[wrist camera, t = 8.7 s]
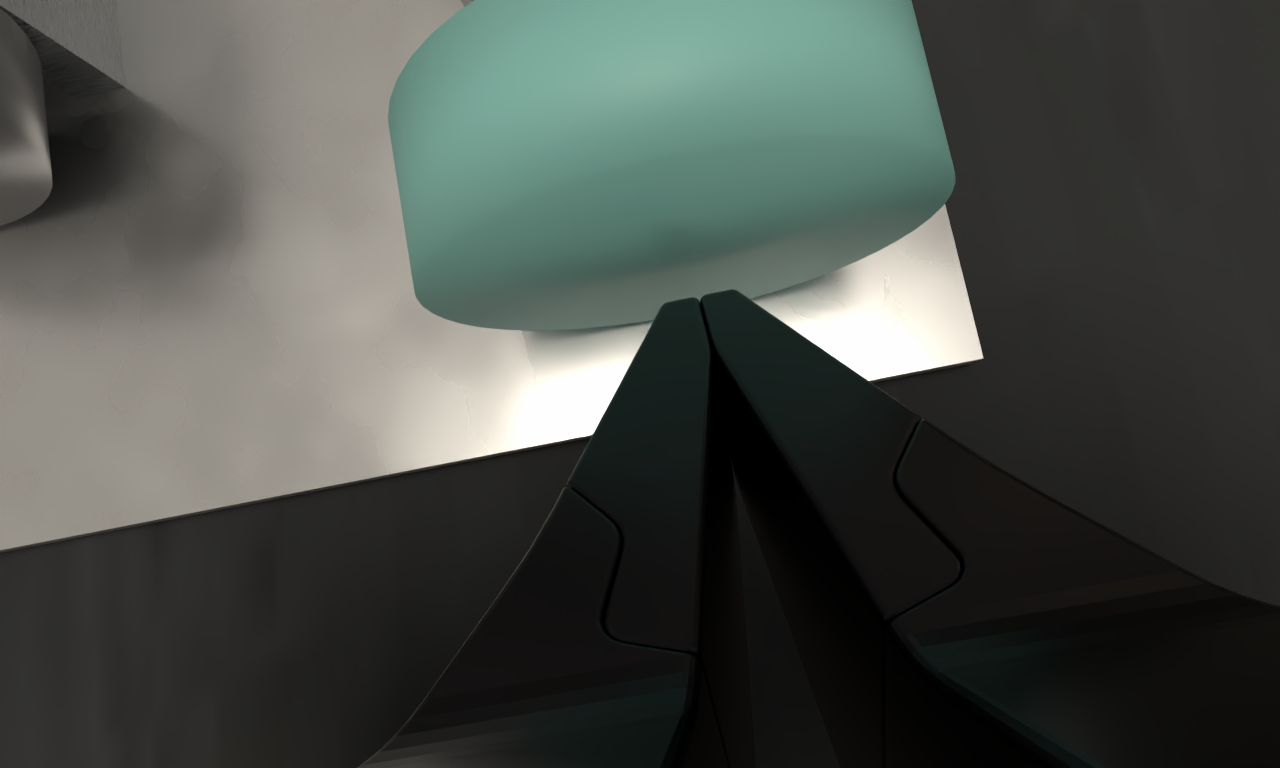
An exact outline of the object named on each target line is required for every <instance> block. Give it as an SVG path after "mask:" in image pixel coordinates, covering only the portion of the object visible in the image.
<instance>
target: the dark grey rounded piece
mask: <svg viewBox="0 0 1280 768" xmlns="http://www.w3.org/2000/svg"><path fill="white" fill-rule="evenodd" d="M52 186H53V185H52V172H51V161H50V150H49V140H48V129H47V118H46V108H45V97H44V86H43V76H42V65H41V62H40V59H39V56H38V54H37V51H36V49H35V47H34V46H33V44H32V43H31V41H30V40H29V38H28V36H27V35H26V34H25V32H24V31H23V30H22V29H21V28H20V27H19V26H18V25H17V23H16V22H15V21H14V20H13V19H12V18H11V17H10V16H9V15H8V14H7V13H5V12H4V11H3V10H2V9H1V8H0V226H2V225H5V224H7V223H10V222H13V221H16V220H18V219H20V218H22V217H24V216H26V215H28V214H30V213H32V212H33V211H34V210H36V209H37V208H38V207H40V206H41V205H42V204H43V203H44V202H45V200H46V199H47V198H48V197H49V195H50V192H51V189H52Z"/></svg>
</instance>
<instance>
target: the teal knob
mask: <svg viewBox="0 0 1280 768" xmlns="http://www.w3.org/2000/svg"><path fill="white" fill-rule="evenodd" d="M388 125H389V131H390V138H391V144H392V151H393V157H394V164H395V170H396V176H397V183H398V189H399V196H400V202H401V209H402V215H403V222H404V228H405V235H406V241H407V248H408V254H409V261H410V267H411V274H412V280H413V287H414V292H415V297H416V298H417V300H418V301H419V302H420V304H421V305H422V306H423V307H424V308H426V309H427V310H429V311H430V312H431V313H433V314H435V315H437V316H440V317H442V318H444V319H447V320H450V321H454V322H457V323H460V324H465V325H470V326H476V327H482V328H491V329H501V330H520V331H547V330H571V329H585V328H596V327H606V326H615V325H622V324H630V323H637V322H644V321H650V320H654V319H655V317H656V315H657V314H658V312H659V310H660V308H661V306H662V305H663V304H664V303H666V302H671V301H676V300H681V299H686V298H691V297H694V298H697V299H698V300H699V302H700V299H701V297H702V296H703V295H705V294H710V293H715V292H720V291H725V290H730V289H734V290H737V291H739V292H740V293H741V294H743V295H744V296H746V297H747V298H749V299H751V298H754V297H758V296H762V295H765V294H768V293H772V292H775V291H778V290H781V289H785V288H788V287H791V286H794V285H797V284H800V283H803V282H806V281H808V280H811V279H814V278H817V277H819V276H822V275H825V274H827V273H830V272H833V271H835V270H838V269H840V268H842V267H845V266H847V265H849V264H852V263H854V262H856V261H859V260H861V259H863V258H865V257H867V256H869V255H871V254H873V253H875V252H878V251H879V250H881V249H883V248H885V247H887V246H889V245H891V244H892V243H894V242H896V241H898V240H899V239H901V238H903V237H904V236H906V235H907V234H909V233H911V232H912V231H914V230H915V229H917V228H918V227H919V226H921V225H922V224H923V223H925V222H926V221H927V220H929V219H930V218H931V217H932V216H933V215H934V214H935V213H936V212H937V211H938V210H939V209H940V208H941V207H942V206H943V205H944V204H945V202H946V201H947V200H948V198H949V197H950V195H951V194H952V191H953V188H954V185H955V171H954V167H953V163H952V159H951V155H950V151H949V147H948V143H947V139H946V135H945V131H944V127H943V123H942V119H941V115H940V112H939V108H938V104H937V100H936V96H935V92H934V88H933V84H932V80H931V76H930V72H929V68H928V64H927V60H926V56H925V52H924V48H923V44H922V40H921V36H920V32H919V28H918V24H917V20H916V16H915V12H914V9H913V5H912V1H911V0H474V1H473V2H471V3H470V4H468V5H467V6H465V7H464V8H462V9H461V10H459V11H458V12H457V13H455V14H454V15H453V16H452V17H451V18H449V19H448V20H447V21H446V22H445V23H443V24H442V25H441V26H440V27H439V28H437V29H436V30H435V31H434V32H433V33H432V34H431V35H430V36H429V37H428V38H427V39H426V40H425V41H424V42H423V44H422V45H421V46H420V47H419V48H418V49H417V50H416V51H415V53H414V54H413V55H412V56H411V57H410V59H409V60H408V62H407V64H406V65H405V67H404V69H403V70H402V72H401V73H400V75H399V77H398V78H397V81H396V83H395V86H394V89H393V92H392V95H391V97H390V101H389V111H388Z"/></svg>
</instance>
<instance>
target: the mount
mask: <svg viewBox="0 0 1280 768" xmlns="http://www.w3.org/2000/svg"><path fill="white" fill-rule="evenodd" d="M473 1H474V0H0V8H1V9H2V10H3V11H4V12H5V13H7V14H8V15H9V16H10V17H11V18H12V19H13V20H14V21H15V22H16V23H17V25H18V26H19V27H20V28H21V29H22V30H23V31H24V32H25V34H26V35H27V36H28V38H29V40H30V41H31V43H32V44H33V46H34V47H35V49H36V51H37V54H38V56H39V59H40V62H41V65H42V76H43V86H44V97H45V108H46V118H47V129H48V140H49V150H50V161H51V172H52V185H53V186H52V189H51V192H50V195H49V197H48V198H47V199H46V200H45V202H44V203H43V204H42V205H41V206H40V207H38V208H37V209H36V210H34V211H33V212H32V213H30V214H28V215H26V216H24V217H22V218H20V219H18V220H16V221H13V222H10V223H7V224H5V225H2V226H0V553H2V552H8V551H13V550H18V549H23V548H28V547H33V546H38V545H43V544H49V543H54V542H59V541H64V540H69V539H74V538H79V537H85V536H90V535H95V534H100V533H105V532H110V531H115V530H120V529H126V528H131V527H136V526H141V525H146V524H151V523H156V522H162V521H167V520H172V519H177V518H182V517H187V516H192V515H197V514H203V513H208V512H213V511H218V510H223V509H228V508H233V507H238V506H244V505H249V504H254V503H259V502H264V501H269V500H274V499H280V498H285V497H290V496H295V495H300V494H305V493H310V492H315V491H321V490H326V489H331V488H336V487H341V486H346V485H351V484H356V483H362V482H367V481H372V480H377V479H382V478H387V477H392V476H398V475H403V474H408V473H413V472H418V471H423V470H428V469H433V468H439V467H444V466H449V465H454V464H459V463H464V462H469V461H474V460H480V459H485V458H490V457H495V456H500V455H505V454H510V453H516V452H521V451H526V450H531V449H536V448H541V447H546V446H551V445H557V444H562V443H567V442H572V441H577V440H582V439H587V438H591V436H592V435H593V433H594V431H595V429H596V427H597V425H598V423H599V422H600V420H601V418H602V416H603V414H604V412H605V410H606V409H607V407H608V405H609V403H610V401H611V399H612V397H613V396H614V394H615V392H616V390H617V388H618V386H619V384H620V382H621V381H622V379H623V377H624V375H625V373H626V371H627V369H628V368H629V366H630V364H631V362H632V360H633V358H634V356H635V355H636V353H637V351H638V349H639V347H640V345H641V343H642V342H643V340H644V338H645V336H646V334H647V332H648V330H649V328H650V327H651V325H652V323H653V321H654V320H650V321H644V322H637V323H630V324H622V325H615V326H606V327H596V328H585V329H571V330H547V331H520V330H501V329H491V328H482V327H476V326H470V325H465V324H460V323H457V322H454V321H450V320H447V319H444V318H442V317H440V316H437V315H435V314H433V313H431V312H430V311H429V310H427V309H426V308H424V307H423V306H422V305H421V304H420V302H419V301H418V300H417V298H416V297H415V292H414V287H413V280H412V274H411V267H410V261H409V254H408V248H407V241H406V235H405V228H404V222H403V215H402V209H401V202H400V196H399V189H398V183H397V176H396V170H395V164H394V157H393V151H392V144H391V138H390V131H389V125H388V111H389V101H390V97H391V95H392V92H393V89H394V86H395V83H396V81H397V78H398V77H399V75H400V73H401V72H402V70H403V69H404V67H405V65H406V64H407V62H408V60H409V59H410V57H411V56H412V55H413V54H414V53H415V51H416V50H417V49H418V48H419V47H420V46H421V45H422V44H423V42H424V41H425V40H426V39H427V38H428V37H429V36H430V35H431V34H432V33H433V32H434V31H435V30H436V29H437V28H439V27H440V26H441V25H442V24H443V23H445V22H446V21H447V20H448V19H449V18H451V17H452V16H453V15H454V14H455V13H457V12H458V11H459V10H461V9H462V8H464V7H465V6H467V5H468V4H470V3H471V2H473ZM750 300H752V301H753V302H755V303H756V304H757V305H759V306H760V307H762V308H763V309H765V310H766V311H768V312H769V313H771V314H772V315H773V316H775V317H776V318H778V319H779V320H781V321H782V322H784V323H785V324H787V325H788V326H790V327H791V328H792V329H794V330H795V331H797V332H798V333H800V334H801V335H803V336H804V337H806V338H807V339H808V340H810V341H811V342H813V343H814V344H816V345H817V346H819V347H820V348H822V349H823V350H824V351H826V352H827V353H829V354H830V355H832V356H833V357H835V358H836V359H838V360H839V361H840V362H842V363H843V364H845V365H846V366H848V367H849V368H851V369H852V370H854V371H855V372H857V373H858V374H859V375H861V376H862V377H864V378H865V379H867V380H868V381H870V382H871V383H875V382H880V381H885V380H890V379H895V378H900V377H905V376H911V375H916V374H921V373H926V372H931V371H936V370H941V369H947V368H952V367H957V366H962V365H967V364H971V363H973V362H976V361H978V360H981V359H983V355H982V351H981V347H980V343H979V339H978V335H977V330H976V326H975V322H974V318H973V314H972V310H971V306H970V302H969V298H968V294H967V290H966V286H965V282H964V278H963V274H962V270H961V266H960V262H959V258H958V254H957V250H956V246H955V242H954V238H953V234H952V230H951V226H950V222H949V218H948V214H947V210H946V206H945V204H944V205H943V206H942V207H941V208H940V209H939V210H938V211H937V212H936V213H935V214H934V215H933V216H932V217H931V218H930V219H929V220H927V221H926V222H925V223H923V224H922V225H921V226H919V227H918V228H917V229H915V230H914V231H912V232H911V233H909V234H907V235H906V236H904V237H903V238H901V239H899V240H898V241H896V242H894V243H892V244H891V245H889V246H887V247H885V248H883V249H881V250H879V251H878V252H875V253H873V254H871V255H869V256H867V257H865V258H863V259H861V260H859V261H856V262H854V263H852V264H849V265H847V266H845V267H842V268H840V269H838V270H835V271H833V272H830V273H827V274H825V275H822V276H819V277H817V278H814V279H811V280H808V281H806V282H803V283H800V284H797V285H794V286H791V287H788V288H785V289H781V290H778V291H775V292H772V293H768V294H765V295H762V296H758V297H754V298H751V299H750Z"/></svg>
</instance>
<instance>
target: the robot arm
mask: <svg viewBox="0 0 1280 768" xmlns="http://www.w3.org/2000/svg"><path fill="white" fill-rule="evenodd" d="M730 457H731V458H730ZM731 461H732V464H731ZM732 465H733V469H734V473H735V477H736V480H737V483H738V486H739V490H740V493H741V496H742V498H743V501H744V504H745V507H746V509H747V512H748V515H749V518H750V520H751V523H752V526H753V528H754V531H755V534H756V537H757V539H758V542H759V545H760V548H761V550H762V553H763V556H764V559H765V561H766V564H767V567H768V570H769V572H770V575H771V578H772V580H773V583H774V586H775V589H776V591H777V594H778V597H779V600H780V602H781V605H782V608H783V611H784V613H785V616H786V619H787V621H788V624H789V627H790V630H791V632H792V635H793V638H794V641H795V643H796V646H797V649H798V652H799V654H800V657H801V660H802V663H803V665H804V668H805V671H806V673H807V676H808V679H809V682H810V684H811V687H812V690H813V693H814V695H815V698H816V701H817V704H818V706H819V709H820V712H821V715H822V717H823V720H824V723H825V725H826V728H827V731H828V734H829V736H830V739H831V742H832V745H833V747H834V750H835V753H836V756H837V758H838V761H839V764H840V766H841V768H1280V606H1277V605H1272V604H1268V603H1265V602H1262V601H1259V600H1256V599H1253V598H1250V597H1247V596H1243V595H1241V594H1238V593H1236V592H1233V591H1231V590H1228V589H1226V588H1223V587H1221V586H1219V585H1216V584H1214V583H1211V582H1209V581H1207V580H1205V579H1203V578H1201V577H1199V576H1197V575H1195V574H1193V573H1191V572H1189V571H1187V570H1185V569H1183V568H1182V567H1180V566H1178V565H1176V564H1174V563H1172V562H1170V561H1169V560H1167V559H1165V558H1163V557H1161V556H1159V555H1157V554H1156V553H1154V552H1152V551H1150V550H1148V549H1146V548H1144V547H1143V546H1141V545H1139V544H1137V543H1135V542H1133V541H1131V540H1130V539H1128V538H1126V537H1124V536H1122V535H1120V534H1119V533H1117V532H1115V531H1113V530H1111V529H1109V528H1107V527H1106V526H1104V525H1102V524H1100V523H1098V522H1096V521H1094V520H1093V519H1091V518H1089V517H1087V516H1085V515H1083V514H1081V513H1080V512H1078V511H1076V510H1074V509H1072V508H1070V507H1069V506H1067V505H1065V504H1063V503H1061V502H1059V501H1057V500H1056V499H1054V498H1052V497H1050V496H1048V495H1046V494H1045V493H1043V492H1041V491H1039V490H1038V489H1036V488H1034V487H1032V486H1031V485H1029V484H1027V483H1025V482H1024V481H1022V480H1020V479H1018V478H1017V477H1015V476H1013V475H1011V474H1010V473H1008V472H1006V471H1004V470H1002V469H1001V468H999V467H997V466H995V465H994V464H992V463H991V462H989V461H988V460H986V459H984V458H983V457H981V456H980V455H978V454H977V453H975V452H974V451H972V450H970V449H969V448H967V447H966V446H964V445H963V444H961V443H960V442H958V441H956V440H955V439H953V438H952V437H950V436H949V435H947V434H946V433H944V432H943V431H942V430H940V429H939V428H937V427H936V426H934V425H933V424H931V423H930V422H928V421H927V420H921V418H920V416H919V415H918V414H916V413H915V412H913V411H912V410H910V409H909V408H907V407H906V406H905V405H903V404H902V403H900V402H899V401H897V400H896V399H894V398H893V397H891V396H890V395H889V394H887V393H886V392H884V391H883V390H881V389H880V388H878V387H877V386H875V385H874V384H873V383H871V382H870V381H868V380H867V379H865V378H864V377H862V376H861V375H859V374H858V373H857V372H855V371H854V370H852V369H851V368H849V367H848V366H846V365H845V364H843V363H842V362H840V361H839V360H838V359H836V358H835V357H833V356H832V355H830V354H829V353H827V352H826V351H824V350H823V349H822V348H820V347H819V346H817V345H816V344H814V343H813V342H811V341H810V340H808V339H807V338H806V337H804V336H803V335H801V334H800V333H798V332H797V331H795V330H794V329H792V328H791V327H790V326H788V325H787V324H785V323H784V322H782V321H781V320H779V319H778V318H776V317H775V316H773V315H772V314H771V313H769V312H768V311H766V310H765V309H763V308H762V307H760V306H759V305H757V304H756V303H755V302H753V301H752V300H750V299H749V298H747V297H746V296H744V295H743V294H741V293H740V292H739V291H737V290H734V289H730V290H725V291H720V292H715V293H710V294H705V295H703V296H702V297H701V299H700V302H699V300H698V299H697V298H694V297H691V298H686V299H681V300H676V301H671V302H666V303H664V304H663V305H662V306H661V308H660V310H659V312H658V314H657V315H656V317H655V319H654V321H653V323H652V325H651V327H650V328H649V330H648V332H647V334H646V336H645V338H644V340H643V342H642V343H641V345H640V347H639V349H638V351H637V353H636V355H635V356H634V358H633V360H632V362H631V364H630V366H629V368H628V369H627V371H626V373H625V375H624V377H623V379H622V381H621V382H620V384H619V386H618V388H617V390H616V392H615V394H614V396H613V397H612V399H611V401H610V403H609V405H608V407H607V409H606V410H605V412H604V414H603V416H602V418H601V420H600V422H599V423H598V425H597V427H596V429H595V431H594V433H593V435H592V436H591V438H590V440H589V442H588V444H587V446H586V448H585V450H584V451H583V453H582V455H581V457H580V459H579V461H578V463H577V464H576V466H575V468H574V470H573V472H572V474H571V476H570V477H569V479H568V481H567V483H566V486H567V487H565V488H563V490H562V491H561V493H560V495H559V497H558V499H557V501H556V503H555V505H554V507H553V508H552V510H551V512H550V514H549V516H548V517H547V519H546V521H545V522H544V524H543V526H542V528H541V529H540V531H539V533H538V534H537V536H536V538H535V540H534V541H533V543H532V545H531V546H530V548H529V550H528V551H527V553H526V554H525V556H524V557H523V559H522V560H521V562H520V563H519V565H518V566H517V568H516V569H515V571H514V572H513V574H512V575H511V577H510V578H509V580H508V581H507V583H506V584H505V586H504V587H503V589H502V590H501V592H500V593H499V595H498V596H497V597H496V599H495V600H494V602H493V603H492V604H491V606H490V607H489V609H488V610H487V611H486V613H485V614H484V616H483V617H482V618H481V620H480V621H479V623H478V624H477V625H476V627H475V628H474V630H473V631H472V632H471V634H470V635H469V637H468V638H467V640H466V641H465V642H464V644H463V645H462V647H461V648H460V649H459V651H458V652H457V654H456V655H455V656H454V658H453V659H452V661H451V662H450V663H449V665H448V666H447V668H446V669H445V670H444V672H443V673H442V675H441V676H440V677H439V679H438V680H437V682H436V683H435V684H434V686H433V687H432V689H431V690H430V691H429V693H428V694H427V696H426V697H425V698H424V700H423V701H422V702H421V704H420V705H419V706H418V708H417V709H416V710H415V712H414V713H413V714H412V715H411V717H410V718H409V719H408V720H407V722H406V723H405V724H404V725H403V726H402V727H401V728H400V729H399V731H398V732H397V733H396V734H395V735H394V736H393V737H392V738H391V739H390V740H389V741H388V742H387V743H386V744H385V745H384V746H383V747H382V748H381V749H380V750H378V751H377V752H376V753H375V754H374V755H373V756H372V757H370V758H369V759H368V760H366V761H365V762H364V763H362V764H361V765H360V766H358V767H357V768H756V767H755V753H754V740H753V726H752V712H751V698H750V684H749V670H748V656H747V643H746V629H745V615H744V601H743V587H742V573H741V559H740V545H739V532H738V518H737V504H736V492H735V483H734V475H733V470H732Z"/></svg>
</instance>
